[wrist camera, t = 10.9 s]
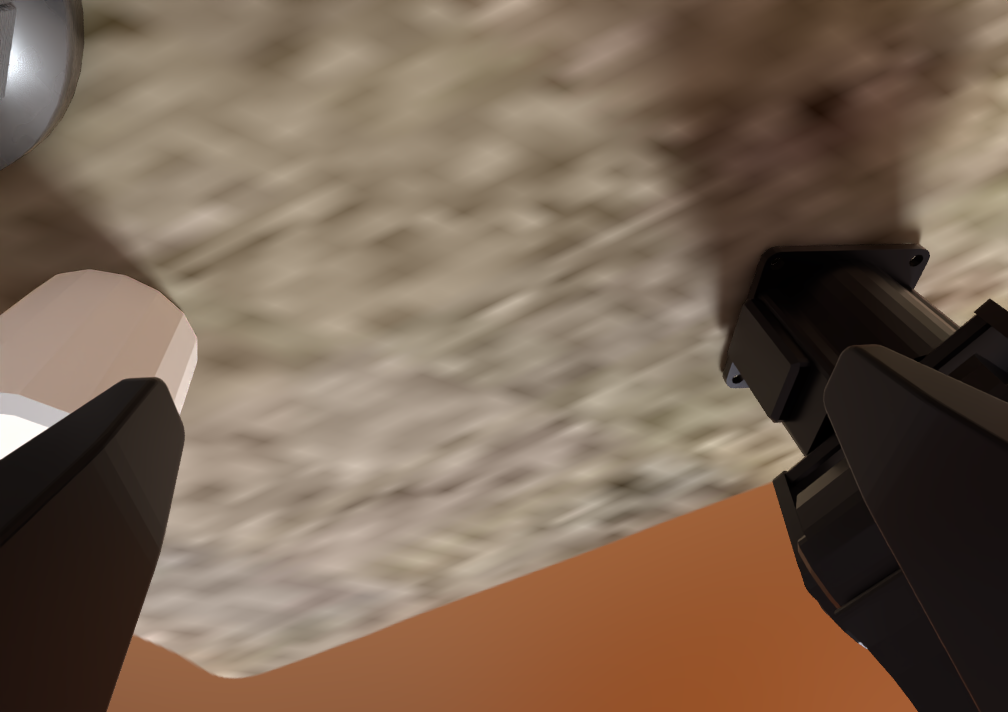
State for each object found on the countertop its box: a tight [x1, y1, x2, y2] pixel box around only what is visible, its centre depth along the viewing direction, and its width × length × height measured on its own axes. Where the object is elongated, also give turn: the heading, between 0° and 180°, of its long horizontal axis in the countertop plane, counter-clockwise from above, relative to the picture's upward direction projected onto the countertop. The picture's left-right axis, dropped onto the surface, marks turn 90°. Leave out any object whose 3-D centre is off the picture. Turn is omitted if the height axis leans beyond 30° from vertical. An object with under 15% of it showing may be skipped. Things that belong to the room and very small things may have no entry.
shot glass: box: [0, 269, 198, 459], centre depth 19 cm, size 7×7×7 cm
